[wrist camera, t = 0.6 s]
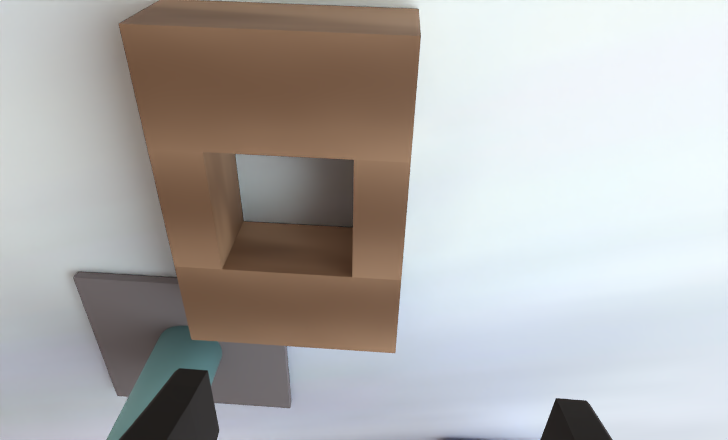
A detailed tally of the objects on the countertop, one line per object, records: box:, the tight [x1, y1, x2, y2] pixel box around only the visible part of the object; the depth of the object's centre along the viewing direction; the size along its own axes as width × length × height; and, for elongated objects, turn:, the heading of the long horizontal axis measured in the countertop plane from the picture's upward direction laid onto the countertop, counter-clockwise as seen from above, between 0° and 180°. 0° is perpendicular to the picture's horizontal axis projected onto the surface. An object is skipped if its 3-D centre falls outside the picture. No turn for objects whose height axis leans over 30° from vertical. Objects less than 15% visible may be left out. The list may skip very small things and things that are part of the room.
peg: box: [107, 326, 222, 440], centre depth 21 cm, size 3×3×9 cm
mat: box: [73, 272, 291, 408], centre depth 25 cm, size 8×9×1 cm
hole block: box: [119, 0, 421, 353], centre depth 19 cm, size 12×8×3 cm, turn 179°
